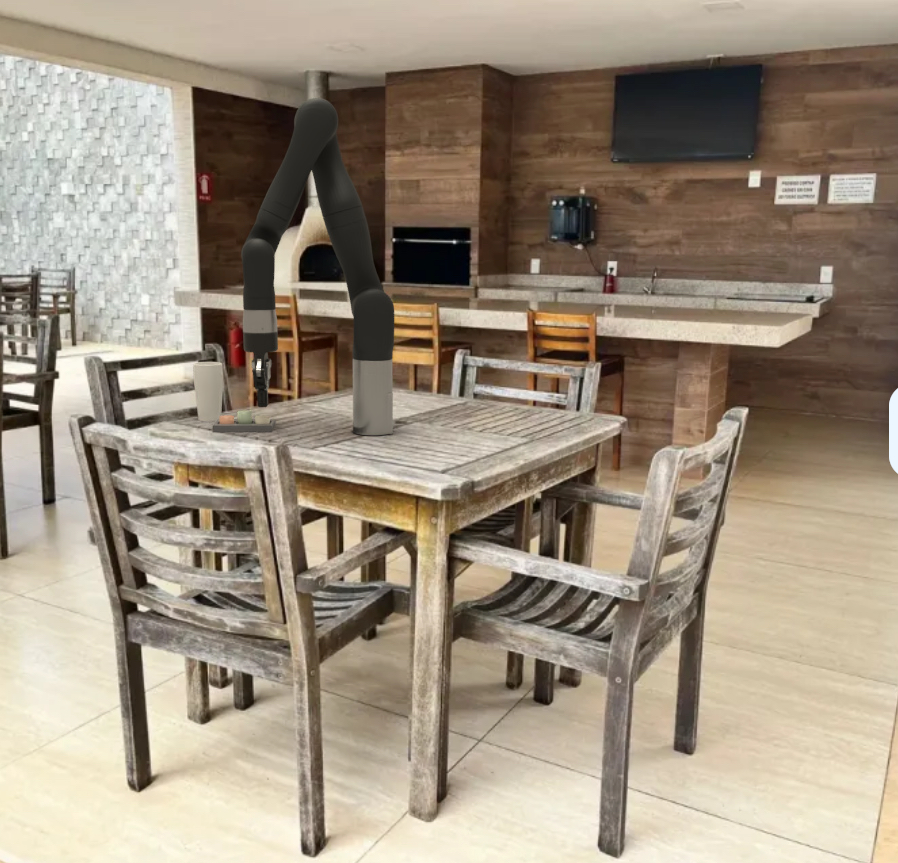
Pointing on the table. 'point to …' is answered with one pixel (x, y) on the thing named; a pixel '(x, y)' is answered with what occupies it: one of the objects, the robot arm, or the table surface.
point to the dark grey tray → (244, 427)
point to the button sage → (244, 417)
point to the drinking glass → (208, 389)
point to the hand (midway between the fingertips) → (262, 406)
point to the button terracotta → (226, 419)
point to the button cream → (262, 419)
